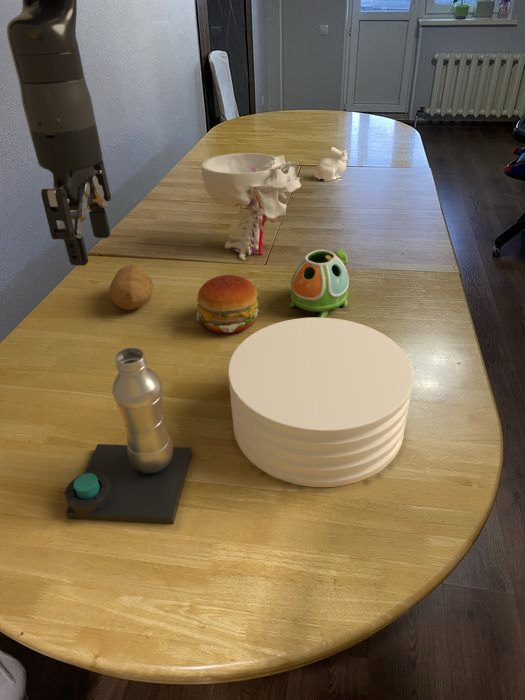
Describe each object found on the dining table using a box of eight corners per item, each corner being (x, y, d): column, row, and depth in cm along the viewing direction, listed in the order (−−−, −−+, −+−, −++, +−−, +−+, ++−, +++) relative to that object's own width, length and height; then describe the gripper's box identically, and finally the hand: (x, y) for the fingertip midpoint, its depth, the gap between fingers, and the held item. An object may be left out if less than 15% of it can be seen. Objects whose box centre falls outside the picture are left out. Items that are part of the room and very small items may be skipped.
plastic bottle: (140, 444, 81) (115, 339, 69) (181, 450, 80) (163, 343, 68) (123, 476, 76) (93, 368, 64) (167, 482, 75) (144, 373, 63)
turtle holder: (366, 291, 121) (371, 243, 114) (327, 326, 109) (329, 276, 102) (320, 277, 127) (322, 232, 120) (278, 310, 115) (278, 261, 108)
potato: (154, 286, 126) (149, 256, 121) (157, 316, 115) (151, 284, 110) (113, 291, 124) (106, 261, 120) (112, 322, 113) (104, 290, 109)
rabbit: (344, 175, 191) (347, 141, 184) (349, 183, 184) (351, 148, 177) (312, 176, 191) (313, 143, 184) (315, 185, 184) (316, 150, 177)
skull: (207, 264, 135) (198, 176, 121) (211, 235, 150) (203, 154, 137) (303, 260, 135) (304, 171, 121) (297, 232, 150) (298, 150, 137)
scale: (63, 519, 72) (57, 505, 70) (96, 449, 82) (91, 436, 80) (173, 525, 70) (170, 511, 69) (192, 453, 81) (189, 440, 79)
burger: (262, 336, 107) (260, 294, 101) (196, 341, 106) (191, 299, 100) (257, 303, 118) (256, 263, 112) (198, 307, 117) (193, 267, 111)
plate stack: (407, 498, 73) (419, 440, 66) (214, 475, 77) (207, 419, 70) (400, 375, 95) (408, 322, 88) (250, 363, 99) (248, 312, 93)
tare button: (72, 498, 71) (69, 490, 70) (81, 480, 74) (78, 472, 73) (95, 500, 71) (92, 491, 70) (103, 481, 73) (100, 473, 72)
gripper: (56, 109, 66) (84, 228, 76) (1, 137, 55) (42, 274, 64) (113, 109, 66) (134, 229, 75) (68, 137, 54) (100, 275, 64)
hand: (91, 250), depth 70 cm, fingers open, 8 cm apart
